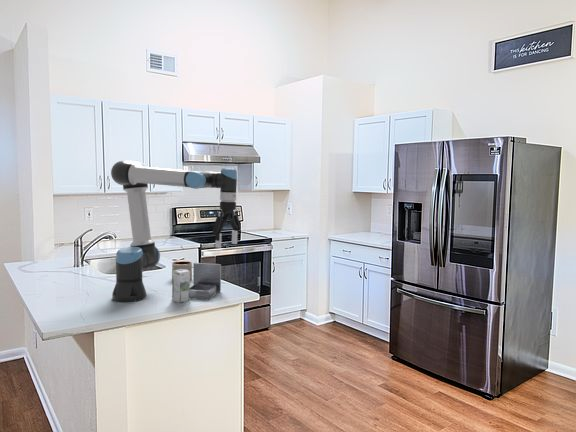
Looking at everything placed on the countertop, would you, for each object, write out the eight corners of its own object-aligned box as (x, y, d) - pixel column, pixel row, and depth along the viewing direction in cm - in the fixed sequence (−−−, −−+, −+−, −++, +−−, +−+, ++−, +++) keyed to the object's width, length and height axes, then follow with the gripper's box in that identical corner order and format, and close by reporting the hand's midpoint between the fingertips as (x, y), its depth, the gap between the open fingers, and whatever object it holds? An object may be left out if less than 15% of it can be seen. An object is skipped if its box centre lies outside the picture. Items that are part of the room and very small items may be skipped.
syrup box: (181, 298, 217) (182, 268, 216) (189, 301, 213) (190, 270, 212) (171, 300, 213) (172, 270, 211) (179, 303, 209) (180, 272, 208)
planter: (177, 282, 247) (177, 265, 246) (168, 279, 255) (168, 262, 254) (195, 280, 254) (195, 263, 253) (185, 276, 262) (186, 260, 261)
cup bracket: (182, 297, 218) (183, 268, 217) (194, 289, 234) (194, 262, 232) (211, 299, 216) (211, 270, 215) (220, 291, 232) (221, 264, 230)
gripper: (219, 202, 203) (217, 249, 205) (248, 200, 225) (246, 243, 227) (205, 201, 206) (204, 248, 208) (235, 199, 229) (234, 241, 231)
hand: (226, 245), depth 218 cm, fingers open, 13 cm apart
